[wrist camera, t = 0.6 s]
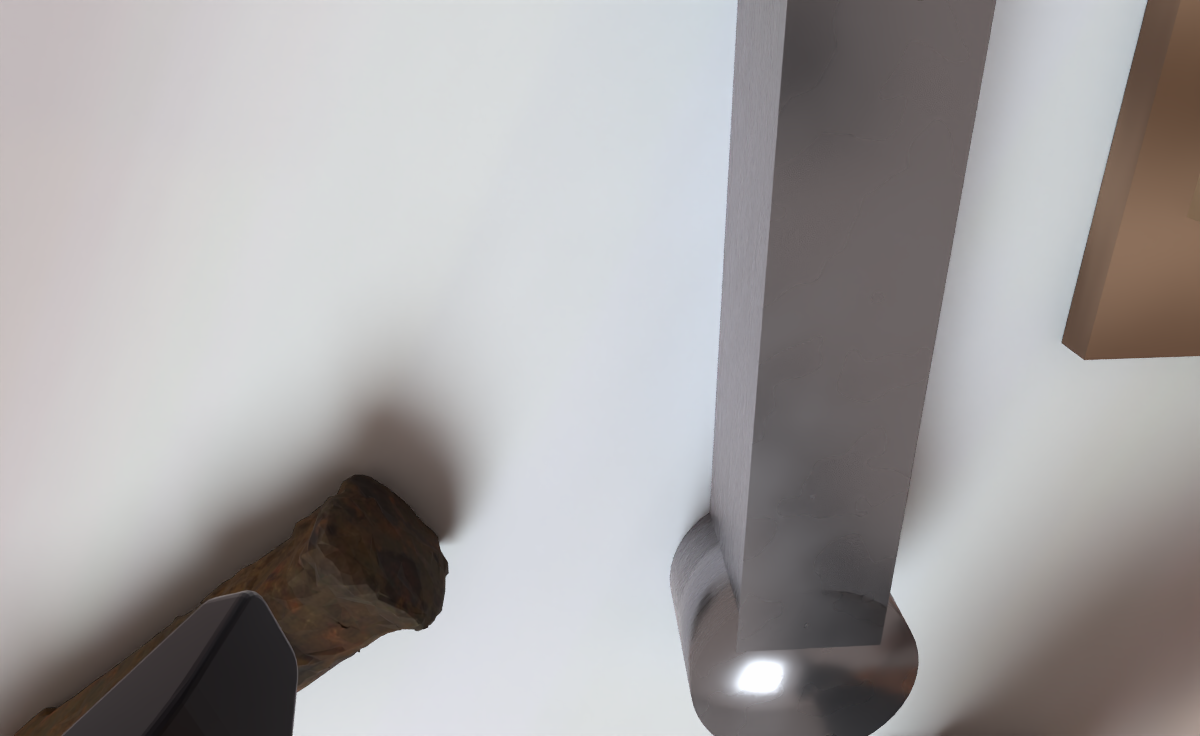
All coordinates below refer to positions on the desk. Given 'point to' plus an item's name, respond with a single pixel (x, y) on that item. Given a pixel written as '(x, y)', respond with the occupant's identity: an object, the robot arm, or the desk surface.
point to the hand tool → (320, 589)
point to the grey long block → (825, 356)
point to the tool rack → (1148, 205)
